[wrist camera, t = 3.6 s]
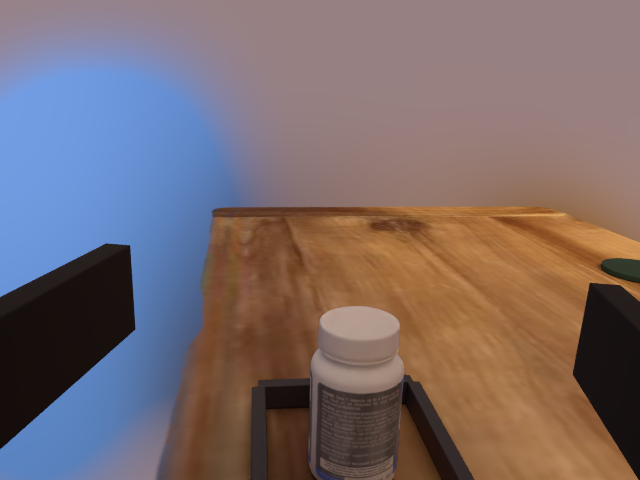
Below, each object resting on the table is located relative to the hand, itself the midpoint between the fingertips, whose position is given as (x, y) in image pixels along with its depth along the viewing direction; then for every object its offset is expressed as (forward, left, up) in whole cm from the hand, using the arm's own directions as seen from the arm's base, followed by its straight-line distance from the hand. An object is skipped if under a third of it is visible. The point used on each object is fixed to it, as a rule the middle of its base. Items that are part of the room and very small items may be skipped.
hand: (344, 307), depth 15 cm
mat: (+57, -9, -13) cm, 59 cm away
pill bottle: (+9, +4, -13) cm, 17 cm away
